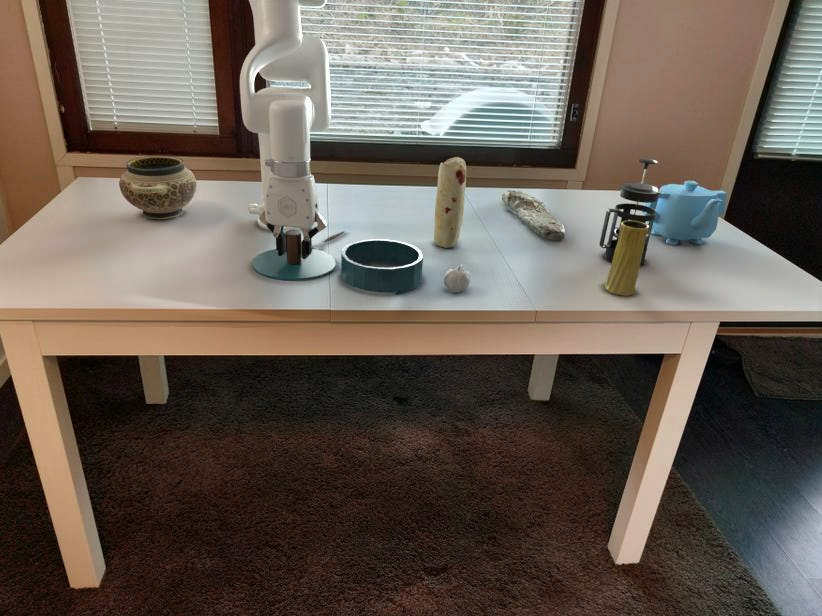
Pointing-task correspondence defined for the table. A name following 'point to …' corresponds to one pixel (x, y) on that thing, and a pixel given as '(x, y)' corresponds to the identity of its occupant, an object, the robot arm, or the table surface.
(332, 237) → the fork
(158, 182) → the ceramic bowl
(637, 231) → the vase
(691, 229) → the teapot
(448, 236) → the food model
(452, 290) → the garlic
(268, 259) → the lid
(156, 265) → the table surface
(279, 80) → the robot arm
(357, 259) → the pot
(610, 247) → the french press
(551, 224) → the elongated rock
